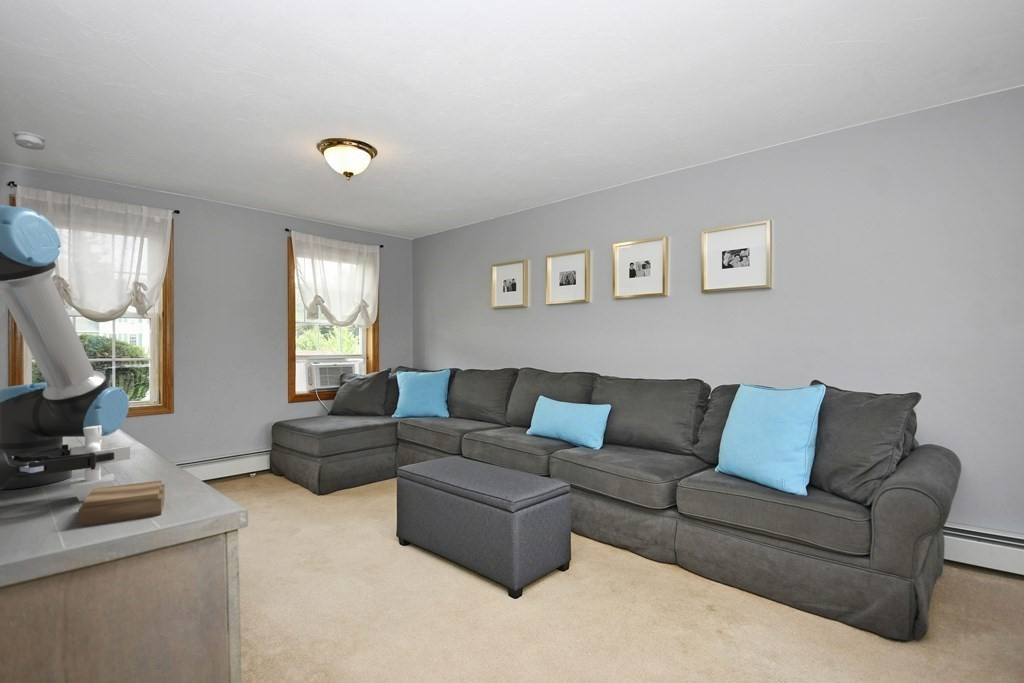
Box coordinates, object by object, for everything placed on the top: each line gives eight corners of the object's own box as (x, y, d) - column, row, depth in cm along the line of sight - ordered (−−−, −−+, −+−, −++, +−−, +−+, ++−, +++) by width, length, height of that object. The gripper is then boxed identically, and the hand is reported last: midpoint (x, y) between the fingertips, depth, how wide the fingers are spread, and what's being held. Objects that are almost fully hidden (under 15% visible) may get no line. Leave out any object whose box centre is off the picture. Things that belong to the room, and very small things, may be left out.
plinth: (90, 508, 100) (90, 488, 100) (164, 498, 107) (164, 479, 107) (78, 526, 90) (78, 504, 90) (161, 514, 96) (161, 493, 96)
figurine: (70, 505, 102) (70, 430, 102) (70, 495, 109) (70, 425, 110) (116, 498, 107) (116, 426, 107) (112, 489, 114) (112, 422, 114)
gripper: (-48, 486, 98) (93, 462, 117) (-2, 502, 87) (144, 473, 107) (-48, 447, 98) (93, 429, 118) (-2, 458, 87) (144, 437, 107)
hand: (117, 450), depth 112 cm, fingers closed on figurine, 9 cm apart
